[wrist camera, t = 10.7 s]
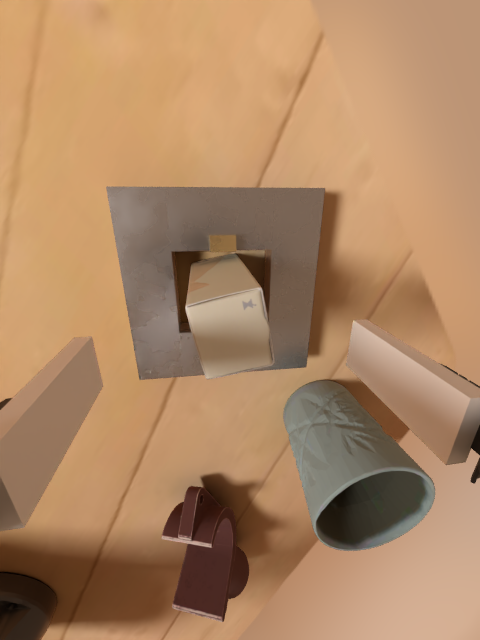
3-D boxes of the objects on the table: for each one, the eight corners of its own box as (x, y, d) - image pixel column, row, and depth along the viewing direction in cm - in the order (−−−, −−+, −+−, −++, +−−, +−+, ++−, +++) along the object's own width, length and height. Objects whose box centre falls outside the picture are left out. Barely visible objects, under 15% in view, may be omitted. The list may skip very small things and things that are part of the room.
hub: (144, 365, 27) (137, 385, 24) (116, 189, 21) (102, 185, 18) (297, 354, 29) (309, 371, 26) (312, 190, 23) (329, 187, 20)
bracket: (218, 485, 31) (190, 611, 23) (255, 530, 41) (244, 629, 33) (172, 481, 33) (133, 596, 25) (218, 525, 43) (200, 617, 35)
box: (190, 262, 24) (181, 300, 14) (237, 252, 24) (263, 281, 14) (204, 315, 26) (205, 383, 16) (247, 306, 26) (277, 366, 16)
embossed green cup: (362, 371, 31) (451, 460, 20) (351, 437, 35) (420, 542, 24) (276, 380, 30) (320, 479, 19) (274, 447, 34) (310, 562, 23)
